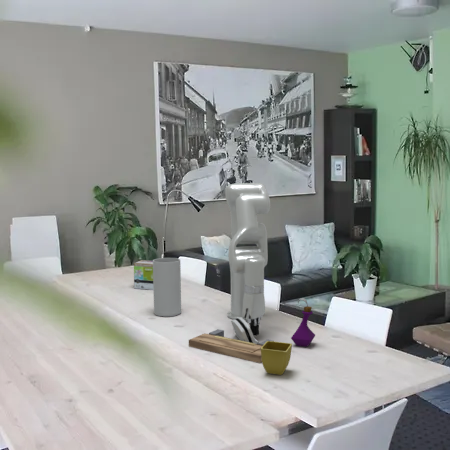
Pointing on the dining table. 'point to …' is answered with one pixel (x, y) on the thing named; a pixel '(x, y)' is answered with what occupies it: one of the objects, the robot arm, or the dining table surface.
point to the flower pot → (275, 356)
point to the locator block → (217, 333)
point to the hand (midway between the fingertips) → (254, 334)
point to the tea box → (143, 275)
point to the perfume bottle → (304, 329)
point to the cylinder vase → (167, 286)
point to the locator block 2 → (264, 342)
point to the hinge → (243, 330)
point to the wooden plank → (228, 347)
